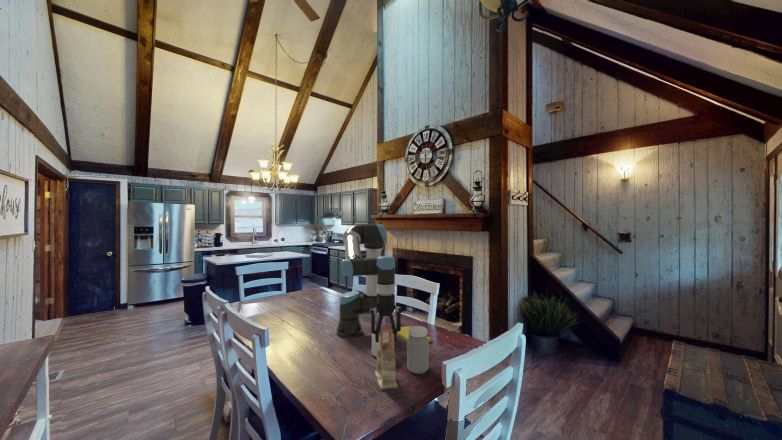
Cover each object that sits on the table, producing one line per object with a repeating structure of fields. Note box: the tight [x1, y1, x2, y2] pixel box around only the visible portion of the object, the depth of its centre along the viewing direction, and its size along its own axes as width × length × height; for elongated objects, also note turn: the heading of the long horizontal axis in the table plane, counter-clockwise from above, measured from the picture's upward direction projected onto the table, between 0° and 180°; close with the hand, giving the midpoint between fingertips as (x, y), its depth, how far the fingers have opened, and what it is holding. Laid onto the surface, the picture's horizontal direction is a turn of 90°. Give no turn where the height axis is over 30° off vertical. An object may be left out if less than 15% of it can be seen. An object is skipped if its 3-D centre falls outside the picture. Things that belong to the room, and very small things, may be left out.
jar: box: [406, 325, 430, 375], centre depth 131 cm, size 10×10×18 cm
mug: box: [371, 332, 389, 358], centre depth 146 cm, size 12×9×11 cm
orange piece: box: [379, 325, 394, 352], centre depth 122 cm, size 5×4×9 cm
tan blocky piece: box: [374, 340, 399, 391], centre depth 122 cm, size 14×7×14 cm, turn 13°
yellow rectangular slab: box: [396, 325, 433, 343], centre depth 168 cm, size 12×2×24 cm
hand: (385, 348), depth 122 cm, fingers closed on orange piece, 5 cm apart
